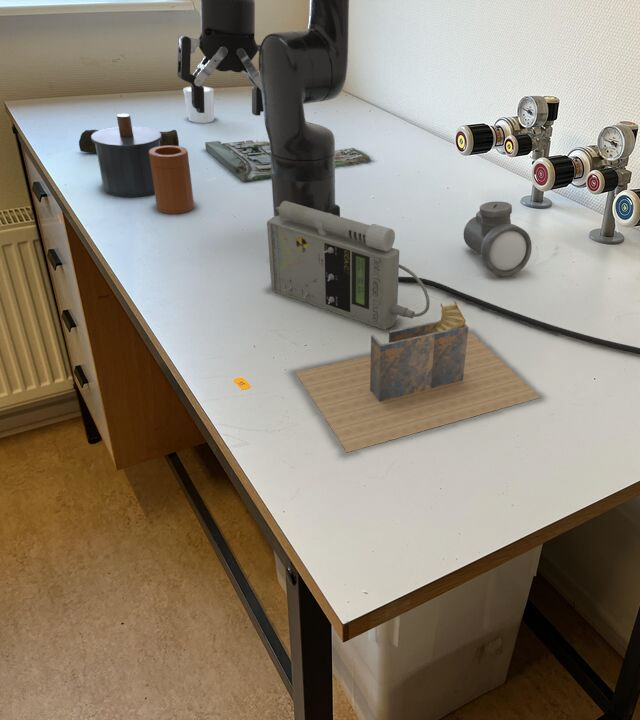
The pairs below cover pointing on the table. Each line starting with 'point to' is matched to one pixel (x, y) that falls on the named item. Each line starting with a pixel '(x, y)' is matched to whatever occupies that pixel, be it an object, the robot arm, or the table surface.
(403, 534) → the table surface
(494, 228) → the pipe fitting
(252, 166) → the model
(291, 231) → the geiger counter
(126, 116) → the tin lid
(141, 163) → the tin
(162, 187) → the jar
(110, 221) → the table surface
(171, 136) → the hand tool
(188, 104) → the white cylinder
